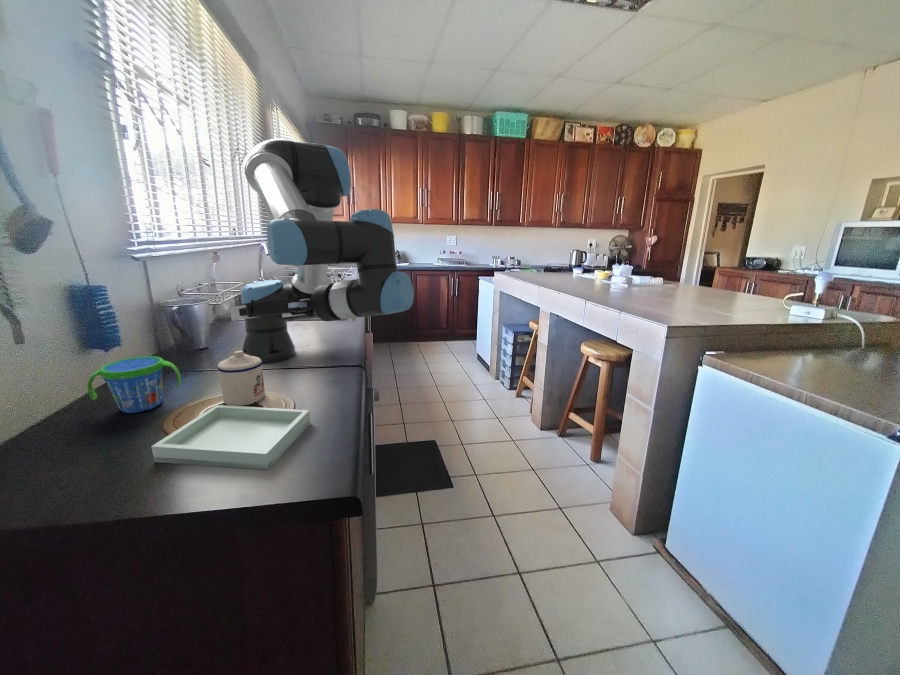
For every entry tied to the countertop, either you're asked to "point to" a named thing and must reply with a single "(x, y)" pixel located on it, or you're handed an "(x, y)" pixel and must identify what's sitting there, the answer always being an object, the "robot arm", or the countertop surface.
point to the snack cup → (134, 382)
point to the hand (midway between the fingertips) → (259, 312)
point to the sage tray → (233, 437)
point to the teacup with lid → (241, 379)
